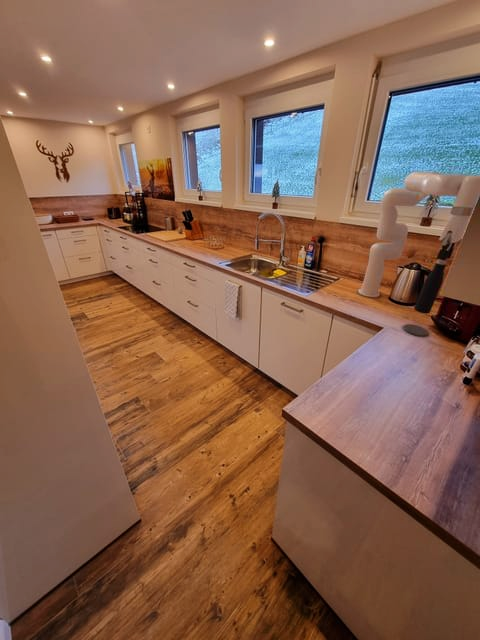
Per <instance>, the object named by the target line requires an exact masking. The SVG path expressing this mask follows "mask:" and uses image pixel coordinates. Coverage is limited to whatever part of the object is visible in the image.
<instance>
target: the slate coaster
mask: <svg viewBox="0 0 480 640" xmlns="http://www.w3.org/2000/svg"><path fill="white" fill-rule="evenodd" d="M403 330H404V332H406V333H408V334H410V335H413V336H416V337H426V336H427V335H428V333H429V332H428V330H427V329H426V328H425V327H422V326H420V325H417V324H412V323H411V324H410V323H409V324H408V323H407V324H404V326H403Z"/></svg>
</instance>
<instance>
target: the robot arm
mask: <svg viewBox="0 0 480 640" xmlns="http://www.w3.org/2000/svg"><path fill="white" fill-rule="evenodd" d="M403 181H404V182H403V185H404V187H393V188H390V189H388V190H386V191H385V192H384V194H383V196H382V197H381V201H380V216H379V220H378V224H377V230H376V238H377V240H379V241H392V242H376V243H374V244H372V245H371V246H370V249H369V258H368V263H367V265H366V266H367V267H366V271H365V275H364V278H363V280H362V285H361V288H358V290H357V293H358V294H359V295H361V296H363V297H366V298H378V297H380V291H379V290H380V289H381V283H382V280H383V276H384V273H385V269H386V265H385V262H384V261H395V260H398V259H400V258H401V257H402V255H403V254H404V253H403V252H404V249H405V246H406V242H407V239H408V234H409V228H408V225H407V224H405V223H403V222H397V221H398V216H399V213H398V209H397V207H415V206H417V205H419V204H420V203H421V202H422V201H424V200H425V199H426V198H428V196H429V195H430V196H435V197H436V196H437V197H455V200H454V202H453V204H452V207H451V209H450V211H449V218H448V220H447V221H446V224H445V226H444V228H443V230H442V232H441V235H440V237H439V239H438V240H439V242H442V243H441V246H440V248H439V251H438V254H437V257H436V259H437V260H438V259H440V260H450V259H451V257H452V255H453V252H454V250H455V248H456V245H457V242H460V241H461V240H462V238H463V236H464V234H465V232H466V231H465V230H466V229H467V227H468V223H469V222H470V221H469V220H470V218H471V217H470V216H471V214H472V211H473V209H474V206H475V204H476V201H477V199H478V197H479V195H480V175H469V174H445V173H444V174H443V173H440V172H438V171H421V170H420V171H414V172H410V174H408V175H407V176H406V177H405V178H404V180H403ZM468 221H469V222H468ZM448 245H449V246H448ZM451 245H453V246H454V248H453V250H452V253H451V254H449V249H450V247H451ZM448 254H449V255H448ZM447 256H448V257H447ZM446 258H447V259H446Z"/></svg>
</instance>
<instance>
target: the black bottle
mask: <svg viewBox="0 0 480 640" xmlns="http://www.w3.org/2000/svg"><path fill="white" fill-rule="evenodd" d="M448 246H449V245H448ZM453 248H454V246H453V245H451V247H450V249H449V254H451V253H452V250H453ZM454 249H455V248H454ZM453 251H454V250H453ZM449 254H448V255H449ZM452 254H453V253H452ZM447 257H448V256H447ZM447 262H448V259H447V258H446V260H440V259H437V261H436V262H435V264H434V267H433V269H431V271H430V272H429V273H428V274H427V276H426V278H425V279H424V282H423V285H422V287H421V290H420V292H419V295H418V297H417V300H416V302H415V304H414V308H413V309H414V311H415V312H417V313H421V314H431V311H432V308H433V306H434V304H435V302H436V300H437V297H438V294H439V292H440V290H441V287H442V285H443V284H444V283H443V282H444V276H445V269H446V267H447Z"/></svg>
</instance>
